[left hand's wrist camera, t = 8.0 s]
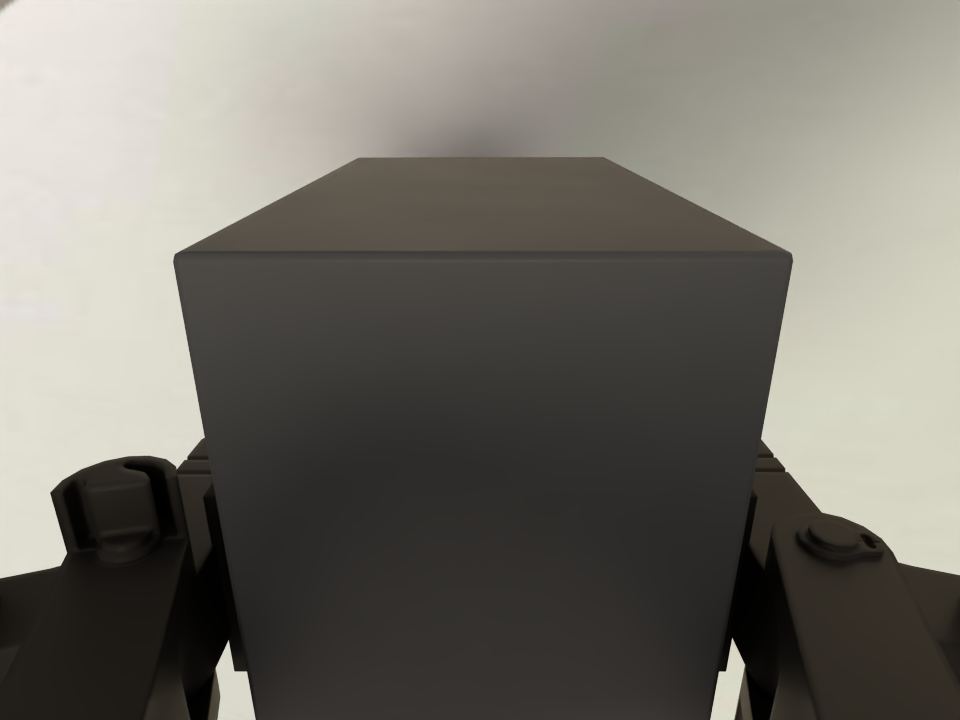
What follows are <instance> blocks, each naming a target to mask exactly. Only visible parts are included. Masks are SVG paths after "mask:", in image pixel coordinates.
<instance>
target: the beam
mask: <svg viewBox="0 0 960 720" xmlns="http://www.w3.org/2000/svg"><path fill="white" fill-rule="evenodd" d="M173 263H174V269H175V274H176V280H177V285H178V291H179V296H180V302H181V307H182V313H183V318H184V324H185V330H186V335H187V341H188V346H189V352H190V357H191V363H192V368H193V374H194V379H195V385H196V391H197V396H198V402H199V407H200V413H201V418H202V424H203V429H204V435H205V440H206V446H207V452H208V457H209V463H210V468H211V474H212V479H213V485H214V490H215V496H216V501H217V507H218V513H219V518H220V524H221V529H222V535H223V540H224V546H225V551H226V557H227V562H228V568H229V574H230V579H231V585H232V590H233V596H234V601H235V607H236V612H237V618H238V623H239V629H240V635H241V640H242V646H243V651H244V657H245V662H246V668H247V673H248V679H249V684H250V690H251V696H252V701H253V707H254V712H255V718H256V720H710V718H711V712H712V707H713V701H714V695H715V690H716V684H717V679H718V673H719V668H720V662H721V657H722V651H723V646H724V640H725V635H726V629H727V623H728V618H729V612H730V607H731V601H732V596H733V590H734V585H735V579H736V574H737V568H738V563H739V557H740V551H741V546H742V540H743V535H744V529H745V524H746V518H747V513H748V507H749V502H750V496H751V491H752V485H753V479H754V474H755V468H756V463H757V457H758V452H759V446H760V441H761V435H762V430H763V424H764V419H765V413H766V407H767V402H768V396H769V391H770V385H771V380H772V374H773V369H774V363H775V358H776V352H777V347H778V341H779V335H780V330H781V324H782V319H783V313H784V308H785V302H786V297H787V291H788V286H789V280H790V275H791V269H792V263H793V258H792V254H791V253H790V252H788V251H786V250H784V249H782V248H780V247H778V246H776V245H774V244H772V243H770V242H768V241H767V240H765V239H763V238H761V237H759V236H757V235H755V234H753V233H751V232H749V231H747V230H745V229H743V228H741V227H739V226H737V225H735V224H733V223H731V222H729V221H727V220H725V219H723V218H721V217H719V216H718V215H716V214H714V213H712V212H710V211H708V210H706V209H704V208H702V207H700V206H698V205H696V204H694V203H692V202H690V201H688V200H686V199H684V198H682V197H680V196H678V195H676V194H674V193H672V192H671V191H669V190H667V189H665V188H663V187H661V186H659V185H657V184H655V183H653V182H651V181H649V180H647V179H645V178H643V177H641V176H639V175H637V174H635V173H633V172H631V171H629V170H627V169H625V168H623V167H622V166H620V165H618V164H616V163H614V162H612V161H610V160H608V159H606V158H604V157H539V158H358V159H356V160H354V161H352V162H350V163H348V164H346V165H344V166H342V167H340V168H338V169H337V170H335V171H333V172H331V173H329V174H327V175H325V176H323V177H321V178H319V179H317V180H316V181H314V182H312V183H310V184H308V185H306V186H304V187H302V188H300V189H298V190H296V191H295V192H293V193H291V194H289V195H287V196H285V197H283V198H281V199H279V200H277V201H275V202H274V203H272V204H270V205H268V206H266V207H264V208H262V209H260V210H258V211H256V212H254V213H252V214H251V215H249V216H247V217H245V218H243V219H241V220H239V221H237V222H235V223H233V224H231V225H230V226H228V227H226V228H224V229H222V230H220V231H218V232H216V233H214V234H212V235H210V236H209V237H207V238H205V239H203V240H201V241H199V242H197V243H195V244H193V245H191V246H189V247H188V248H186V249H184V250H182V251H180V252H178V253H176V254H175V256H174V261H173Z"/></svg>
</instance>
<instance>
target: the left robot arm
mask: <svg viewBox="0 0 960 720" xmlns="http://www.w3.org/2000/svg"><path fill="white" fill-rule="evenodd" d="M773 455H774V454H773V453H772V452H771V451H770V450H769V448H768V447H767V446H766V445H765V444H764V442H763V441H762V440H761V441H760V446H759V452H758V457H757V463H756V468H755V474H754V479H753V485H752V491H751V496H750V502H749V507H748V513H747V518H746V524H745V529H744V535H743V540H742V546H741V551H740V557H739V563H738V568H737V574H736V579H735V585H734V590H733V596H732V601H731V607H730V612H729V618H728V623H727V629H726V635H725V640H724V646H723V651H722V657H721V662H720V668H719V671H726V668H727V663H728V657H729V652H730V646H731V641H732V638H733V640H734V642H735V644H736V646H737V648H738V651H739V653H740V655H741V657H742V659H743V661H744V663H745V668H744V674H743V679H742V684H741V689H740V694H739V699H738V704H737V709H736V714H735V719H734V720H960V575H955V574H950V573H945V572H940V571H935V570H930V569H924V568H919V567H914V566H910V565H906V564H902V563H898V562H897V560H896V558H895V556H894V554H893V552H892V551H891V549H890V548H889V547H888V546H887V545H886V543H885V542H884V541H883V540H882V539H881V538H880V537H878V536H877V535H875V534H874V533H872V532H871V531H870V530H868V529H867V528H865V527H864V526H861V525H859V524H856V523H854V522H852V521H849V520H847V519H845V518H842V517H838V516H834V515H830V514H825V513H822V512H821V511H820V510H819V509H818V508H817V506H816V505H815V504H814V503H813V502H812V500H811V499H810V498H809V497H808V495H807V494H806V493H805V492H804V491H803V489H802V488H801V487H800V486H799V485H798V483H797V482H796V481H795V480H794V479H793V477H792V476H791V475H790V474H789V473H788V472H785V468H784V466H783V465H782V464H781V463H780V462H779V460H778V459H777V458H774V456H773ZM50 494H51V497H52V501H53V504H54V508H55V511H56V515H57V518H58V522H59V525H60V529H61V533H62V536H63V540H64V543H65V547H66V550H67V555H66V557H65V559H64V561H63V563H62V565H61V566H59V567H55V568H51V569H46V570H41V571H36V572H31V573H26V574H21V575H16V576H11V577H6V578H1V579H0V720H217V718H218V710H219V702H220V691H219V684H218V679H217V674H216V666H217V664H218V662H219V659H220V657H221V655H222V653H223V651H224V649H225V647H226V644H227V642H228V640H229V643H230V649H231V654H232V660H233V665H234V671H247V668H246V662H245V657H244V651H243V646H242V640H241V635H240V629H239V623H238V618H237V612H236V607H235V601H234V596H233V590H232V585H231V579H230V574H229V568H228V562H227V557H226V551H225V546H224V540H223V535H222V529H221V524H220V518H219V513H218V507H217V501H216V496H215V490H214V485H213V479H212V474H211V468H210V463H209V457H208V452H207V446H206V440H205V438H203V439H202V440H201V441H200V442H199V443H198V445H197V446H196V447H195V448H194V449H193V451H192V452H191V453H190V454H189V455H188V459H187V460H184V462H183V463H182V464H181V465H180V466H179V468H178V469H176V466H175V465H173V464H172V463H171V462H169V461H168V460H166V459H162V458H158V457H153V456H128V457H123V458H118V459H113V460H108V461H104V462H101V463H98V464H95V465H92V466H90V467H87V468H84V469H81V470H80V471H78V472H76V473H74V474H73V475H71V476H69V477H68V478H66V479H64V480H62V481H61V482H60V483H59V484H58V485H57V486H56V487H55V488H54V489H53V490H52V491H51V493H50Z"/></svg>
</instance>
